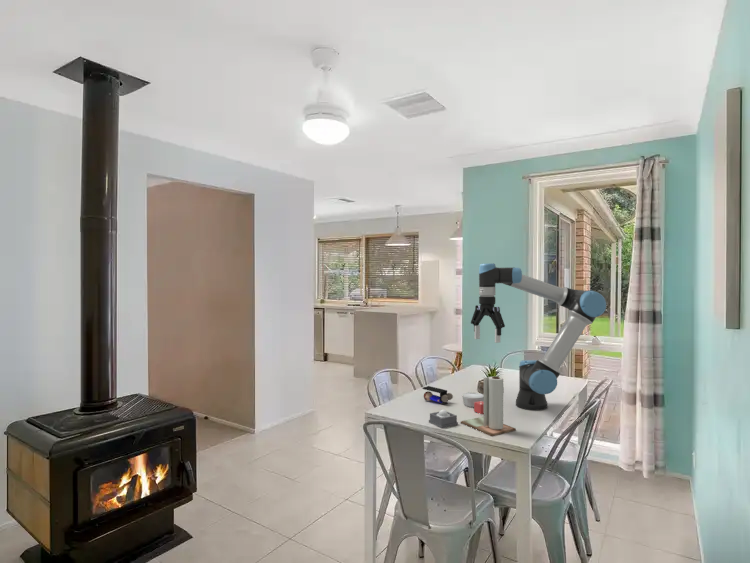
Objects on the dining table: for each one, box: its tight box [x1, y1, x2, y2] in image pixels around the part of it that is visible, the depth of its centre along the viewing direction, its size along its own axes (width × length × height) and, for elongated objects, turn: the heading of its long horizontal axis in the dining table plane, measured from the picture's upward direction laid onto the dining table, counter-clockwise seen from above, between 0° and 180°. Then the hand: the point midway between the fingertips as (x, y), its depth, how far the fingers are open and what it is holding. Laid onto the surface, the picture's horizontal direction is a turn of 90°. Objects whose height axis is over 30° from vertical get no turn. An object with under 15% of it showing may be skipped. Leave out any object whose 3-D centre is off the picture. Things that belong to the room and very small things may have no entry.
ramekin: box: [461, 391, 484, 408], centre depth 229 cm, size 11×11×5 cm
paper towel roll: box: [483, 376, 504, 430], centre depth 192 cm, size 7×6×21 cm
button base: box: [428, 411, 459, 429], centre depth 200 cm, size 9×9×4 cm
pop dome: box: [436, 409, 450, 418], centre depth 200 cm, size 6×6×5 cm
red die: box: [473, 401, 484, 415], centre depth 217 cm, size 4×4×5 cm
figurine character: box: [422, 385, 454, 406], centre depth 234 cm, size 7×8×15 cm
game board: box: [460, 416, 517, 437], centre depth 196 cm, size 14×19×1 cm
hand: (487, 340), depth 214 cm, fingers open, 13 cm apart
